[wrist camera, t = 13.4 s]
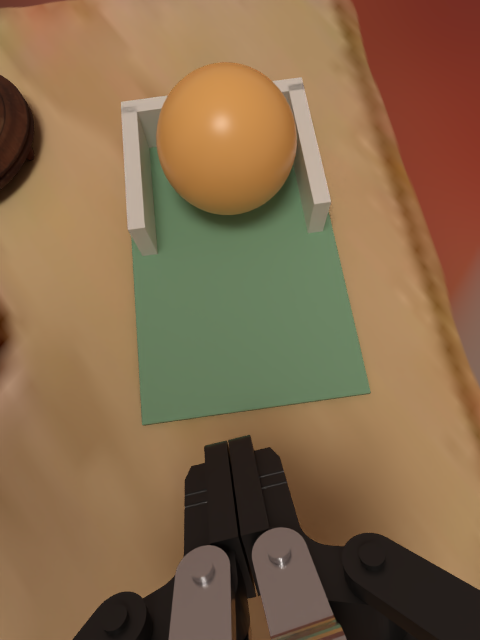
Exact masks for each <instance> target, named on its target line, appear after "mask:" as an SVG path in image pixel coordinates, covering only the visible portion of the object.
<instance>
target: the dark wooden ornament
mask: <svg viewBox="0 0 480 640" xmlns="http://www.w3.org/2000/svg"><path fill="white" fill-rule="evenodd" d="M33 137H34V120H33V116H32V113H31V110H30V108H29V106H28V104H27V102H26V101H25V99H24V98H23V96H22V95H21V93H20V92H19V90H18V89H17V88H16V87H15V86H14V85H13V84H12V83H11V82H10V81H9V80H7V79H6V78H4V77H3V76H1V75H0V189H1V188H3V187H4V186H5V185H6V184H7V183H8V182H9V181H10V180H11V179H12V178H13V177H14V176H15V175H16V173H17V172H18V171H19V169H20V168H21V167H22V165H23V163H24V162H25V160H26V159H28V160H33V159H34V152H33V149H32V147H31V146H32V142H33Z"/></svg>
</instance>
